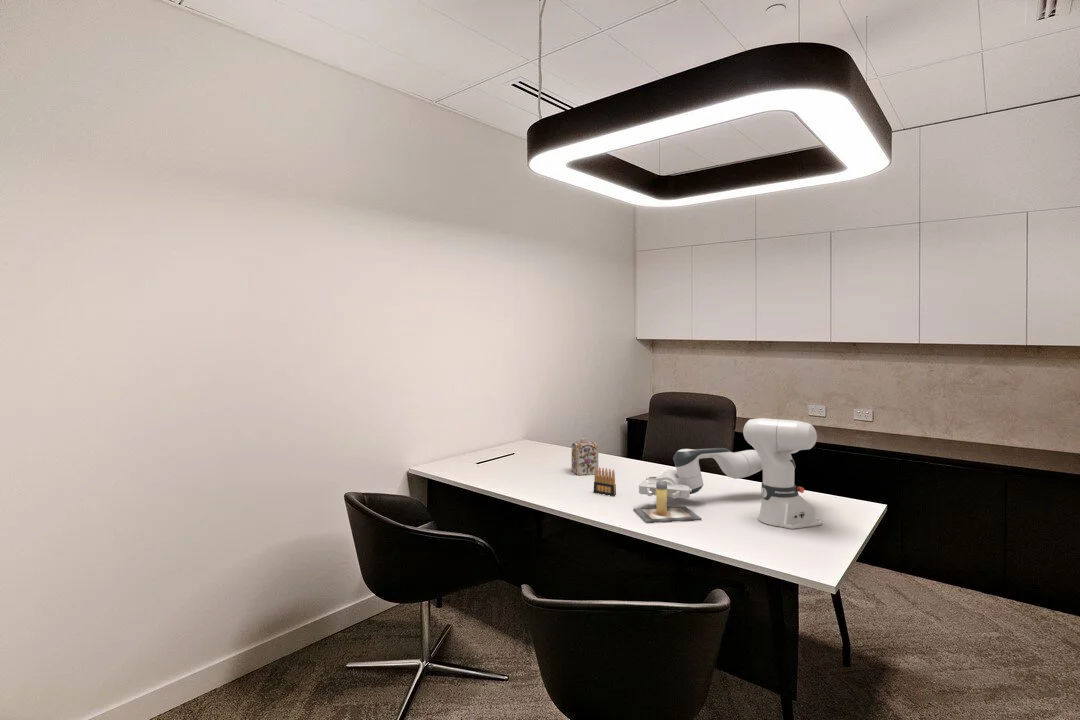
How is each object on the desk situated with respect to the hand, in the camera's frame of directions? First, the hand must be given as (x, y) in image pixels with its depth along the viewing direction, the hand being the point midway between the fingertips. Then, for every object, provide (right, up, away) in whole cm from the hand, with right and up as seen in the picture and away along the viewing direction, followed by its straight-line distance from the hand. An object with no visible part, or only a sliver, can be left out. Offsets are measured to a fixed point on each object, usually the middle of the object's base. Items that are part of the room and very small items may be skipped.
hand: (661, 495), depth 217 cm
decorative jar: (-24, -6, +72) cm, 76 cm away
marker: (0, -7, +1) cm, 7 cm away
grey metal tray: (+2, -8, +1) cm, 9 cm away
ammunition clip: (-19, -7, +32) cm, 37 cm away
